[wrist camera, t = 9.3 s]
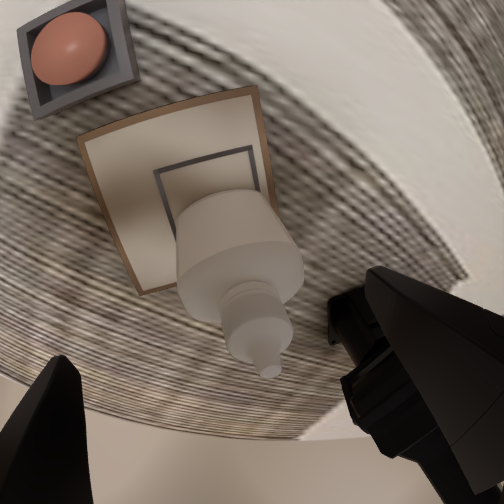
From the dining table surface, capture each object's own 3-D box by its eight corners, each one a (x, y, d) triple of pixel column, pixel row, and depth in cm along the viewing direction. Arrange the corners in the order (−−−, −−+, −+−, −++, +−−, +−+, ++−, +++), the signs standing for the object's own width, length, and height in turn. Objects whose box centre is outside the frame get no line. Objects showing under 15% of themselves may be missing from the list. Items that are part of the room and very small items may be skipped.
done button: (115, 69, 13) (107, 66, 11) (52, 95, 12) (38, 97, 11) (104, 9, 11) (95, 0, 9) (41, 37, 10) (26, 33, 9)
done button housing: (140, 80, 15) (133, 78, 12) (53, 114, 14) (34, 120, 12) (124, -3, 12) (115, -17, 9) (37, 35, 11) (16, 29, 9)
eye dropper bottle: (184, 175, 17) (191, 316, 7) (273, 192, 19) (371, 324, 9) (172, 239, 19) (175, 406, 9) (254, 251, 21) (318, 402, 11)
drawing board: (279, 247, 23) (285, 258, 22) (140, 286, 22) (139, 298, 21) (252, 85, 17) (258, 85, 15) (81, 134, 16) (74, 138, 14)
